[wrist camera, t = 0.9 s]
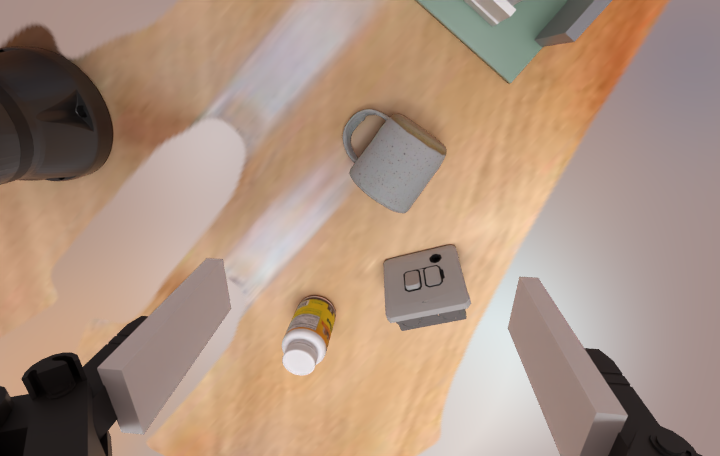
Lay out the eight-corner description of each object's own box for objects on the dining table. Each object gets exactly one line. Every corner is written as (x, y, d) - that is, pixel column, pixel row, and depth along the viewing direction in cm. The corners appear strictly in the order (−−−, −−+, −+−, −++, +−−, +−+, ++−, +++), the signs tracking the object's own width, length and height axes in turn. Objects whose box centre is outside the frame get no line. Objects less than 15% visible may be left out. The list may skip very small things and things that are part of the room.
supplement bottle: (333, 329, 53) (318, 385, 43) (296, 321, 53) (273, 375, 44) (339, 298, 50) (324, 350, 41) (300, 290, 50) (277, 340, 41)
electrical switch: (454, 241, 45) (467, 289, 37) (463, 274, 47) (476, 325, 39) (382, 258, 47) (380, 307, 39) (394, 289, 49) (393, 340, 41)
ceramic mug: (448, 142, 40) (456, 157, 33) (406, 200, 43) (405, 224, 36) (368, 88, 39) (359, 91, 32) (331, 151, 42) (315, 167, 35)
